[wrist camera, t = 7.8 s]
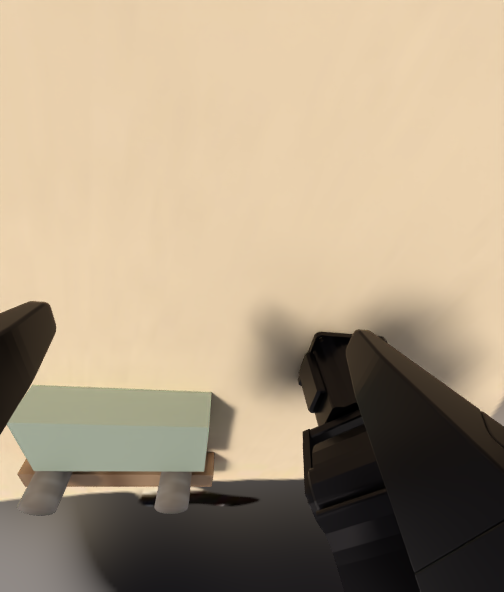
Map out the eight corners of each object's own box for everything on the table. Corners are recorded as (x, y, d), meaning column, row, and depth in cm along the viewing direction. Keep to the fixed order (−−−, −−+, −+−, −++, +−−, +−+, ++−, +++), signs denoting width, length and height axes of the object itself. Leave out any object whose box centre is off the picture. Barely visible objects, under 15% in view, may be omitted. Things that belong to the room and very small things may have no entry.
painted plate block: (211, 389, 28) (209, 427, 24) (206, 433, 32) (204, 471, 29) (34, 381, 25) (5, 422, 22) (55, 430, 30) (33, 471, 26)
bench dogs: (216, 438, 32) (214, 500, 27) (212, 464, 35) (209, 522, 30) (23, 434, 29) (-19, 501, 24) (38, 462, 32) (3, 526, 27)
